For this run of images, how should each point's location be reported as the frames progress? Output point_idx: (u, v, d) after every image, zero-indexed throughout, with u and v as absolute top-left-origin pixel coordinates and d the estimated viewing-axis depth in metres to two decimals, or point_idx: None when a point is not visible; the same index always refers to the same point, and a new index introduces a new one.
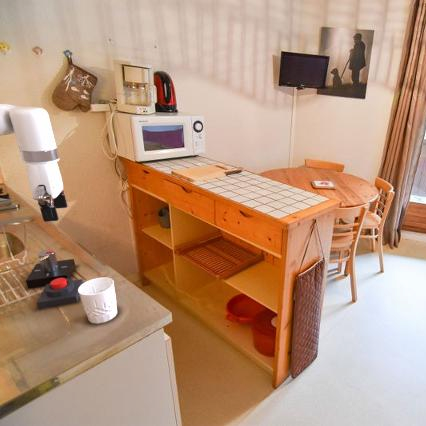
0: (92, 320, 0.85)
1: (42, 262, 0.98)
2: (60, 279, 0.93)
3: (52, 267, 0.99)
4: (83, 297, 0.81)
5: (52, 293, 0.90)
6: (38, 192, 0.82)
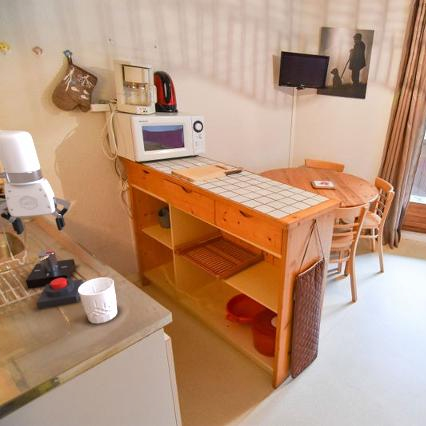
0: (92, 320, 0.85)
1: (42, 262, 0.98)
2: (60, 279, 0.93)
3: (52, 267, 0.99)
4: (83, 297, 0.81)
5: (52, 293, 0.90)
6: (62, 200, 0.95)
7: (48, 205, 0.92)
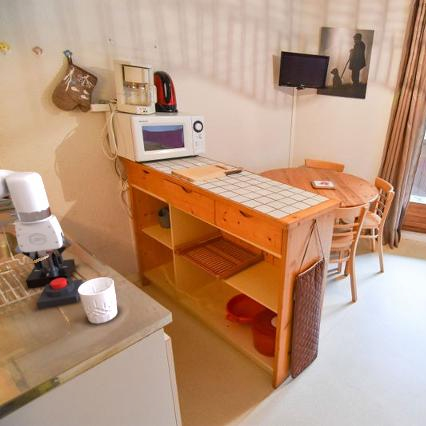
0: (92, 320, 0.85)
1: (42, 262, 0.98)
2: (60, 279, 0.93)
3: (52, 267, 0.99)
4: (83, 297, 0.81)
5: (52, 293, 0.90)
6: (67, 240, 0.99)
7: (56, 240, 0.96)
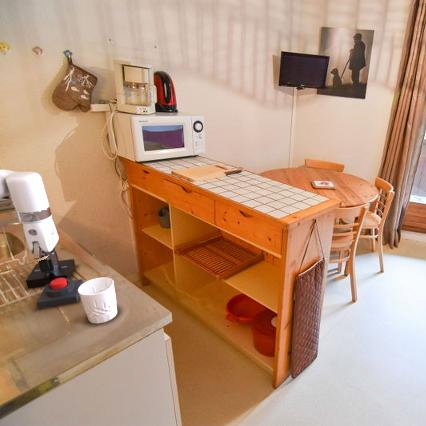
0: (92, 320, 0.85)
1: (54, 259, 0.99)
2: (60, 279, 0.93)
3: None
4: (83, 297, 0.81)
5: (52, 293, 0.90)
6: None
7: (56, 231, 1.01)
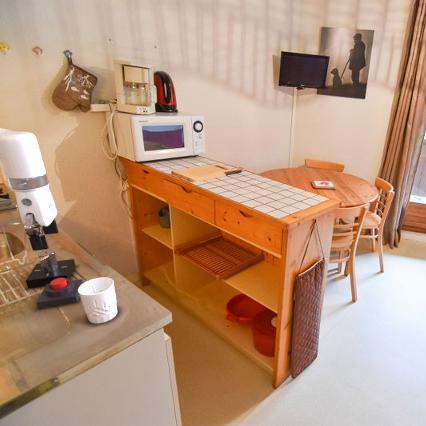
0: (92, 320, 0.85)
1: (53, 259, 0.99)
2: (60, 279, 0.93)
3: None
4: (83, 297, 0.81)
5: (52, 293, 0.90)
6: None
7: (54, 205, 0.88)
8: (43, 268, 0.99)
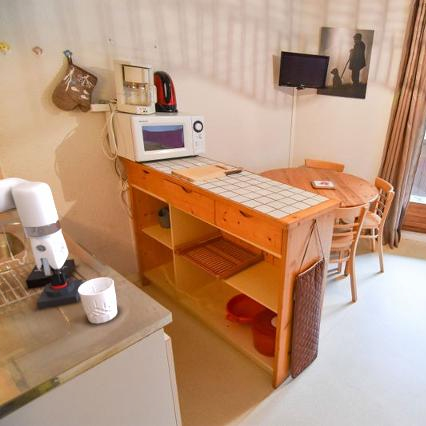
0: (92, 320, 0.85)
1: None
2: None
3: None
4: (83, 297, 0.81)
5: (52, 293, 0.90)
6: None
7: (66, 246, 0.93)
8: None
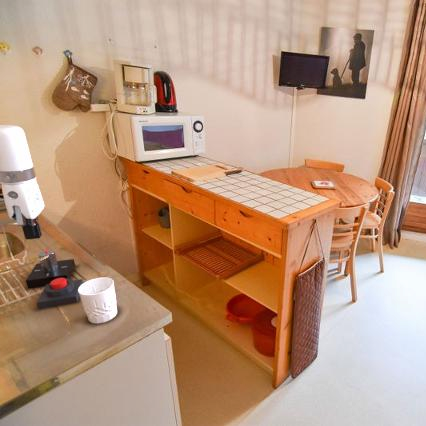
0: (92, 320, 0.85)
1: (53, 259, 0.99)
2: (60, 279, 0.93)
3: None
4: (83, 297, 0.81)
5: (52, 293, 0.90)
6: None
7: (42, 198, 0.89)
8: (43, 268, 0.99)
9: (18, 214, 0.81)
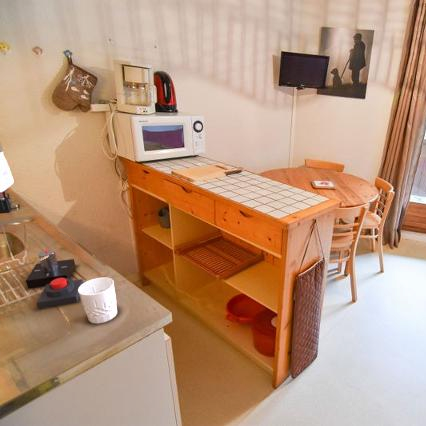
0: (92, 320, 0.85)
1: (53, 259, 0.99)
2: (60, 279, 0.93)
3: None
4: (83, 297, 0.81)
5: (52, 293, 0.90)
6: None
7: (11, 174, 0.92)
8: (43, 268, 0.99)
9: None
